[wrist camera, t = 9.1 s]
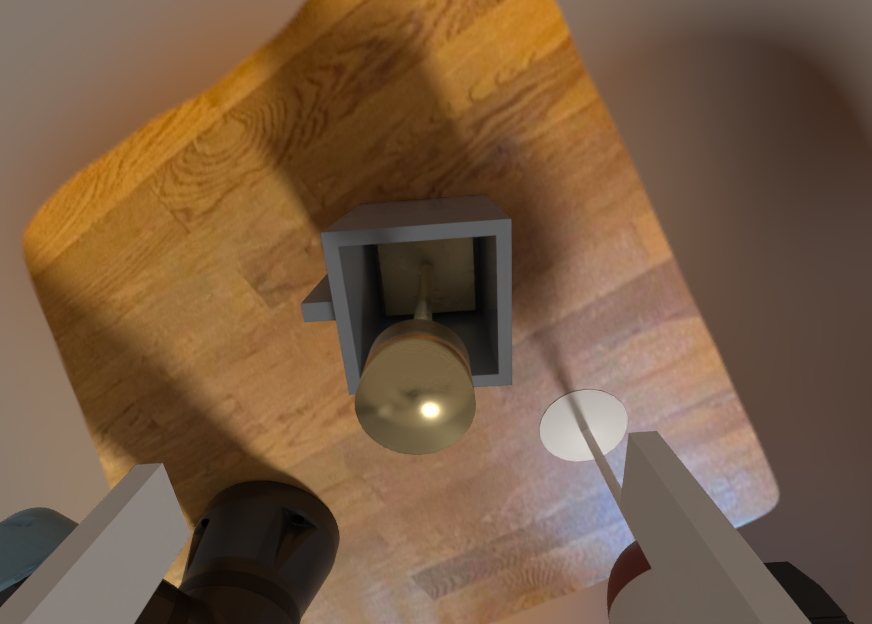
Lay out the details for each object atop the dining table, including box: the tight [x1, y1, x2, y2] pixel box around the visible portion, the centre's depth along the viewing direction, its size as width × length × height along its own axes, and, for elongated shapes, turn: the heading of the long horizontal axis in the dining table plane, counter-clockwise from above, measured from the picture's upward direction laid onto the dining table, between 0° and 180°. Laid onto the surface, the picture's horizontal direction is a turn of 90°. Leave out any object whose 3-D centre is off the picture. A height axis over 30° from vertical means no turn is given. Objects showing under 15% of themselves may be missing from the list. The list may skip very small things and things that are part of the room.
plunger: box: [355, 237, 476, 455], centre depth 24 cm, size 7×7×19 cm
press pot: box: [301, 194, 512, 395], centre depth 29 cm, size 12×10×12 cm
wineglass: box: [539, 389, 681, 624], centre depth 30 cm, size 9×10×23 cm
